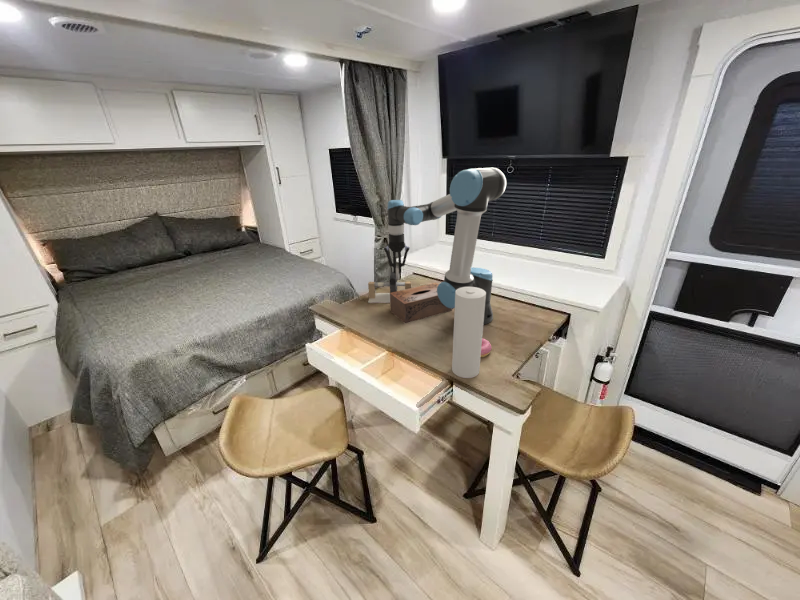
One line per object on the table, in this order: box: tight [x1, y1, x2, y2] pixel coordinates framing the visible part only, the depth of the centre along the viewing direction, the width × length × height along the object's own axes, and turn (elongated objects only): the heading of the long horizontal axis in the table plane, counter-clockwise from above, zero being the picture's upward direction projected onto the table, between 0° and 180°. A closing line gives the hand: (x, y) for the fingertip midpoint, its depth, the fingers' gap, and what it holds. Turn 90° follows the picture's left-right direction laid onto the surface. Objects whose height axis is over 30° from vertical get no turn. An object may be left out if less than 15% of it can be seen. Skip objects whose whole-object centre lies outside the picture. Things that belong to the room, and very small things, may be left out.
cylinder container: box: [451, 287, 486, 379], centre depth 109 cm, size 9×9×30 cm
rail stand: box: [367, 281, 412, 304], centre depth 172 cm, size 11×22×9 cm, turn 87°
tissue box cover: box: [389, 282, 453, 324], centre depth 157 cm, size 26×14×10 cm, turn 118°
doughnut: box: [480, 337, 493, 358], centre depth 125 cm, size 11×11×4 cm
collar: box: [389, 271, 398, 293], centre depth 170 cm, size 10×3×10 cm, turn 177°
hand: (397, 278), depth 169 cm, fingers closed
